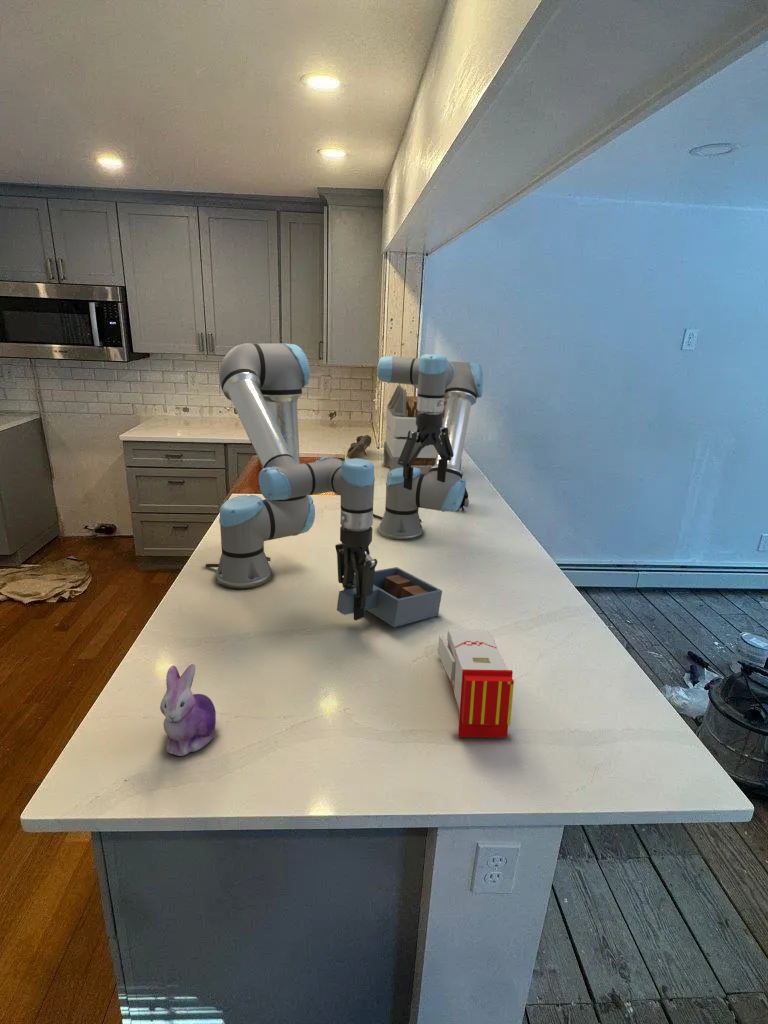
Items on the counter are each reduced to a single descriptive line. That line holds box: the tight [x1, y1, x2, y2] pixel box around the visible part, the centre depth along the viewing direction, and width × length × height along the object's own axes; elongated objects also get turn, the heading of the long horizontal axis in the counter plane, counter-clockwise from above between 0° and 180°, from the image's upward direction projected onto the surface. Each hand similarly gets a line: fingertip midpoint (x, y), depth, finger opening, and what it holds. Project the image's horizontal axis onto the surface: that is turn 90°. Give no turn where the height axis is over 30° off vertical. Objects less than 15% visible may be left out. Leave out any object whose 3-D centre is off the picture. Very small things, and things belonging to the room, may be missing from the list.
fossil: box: [347, 434, 372, 459], centre depth 303 cm, size 22×10×15 cm
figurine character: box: [455, 487, 470, 512], centre depth 229 cm, size 7×8×15 cm
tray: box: [336, 566, 443, 628], centre depth 144 cm, size 18×26×7 cm
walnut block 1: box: [383, 575, 411, 599], centre depth 153 cm, size 5×5×5 cm
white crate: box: [383, 384, 463, 472], centre depth 268 cm, size 34×33×41 cm
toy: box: [437, 628, 515, 738], centre depth 117 cm, size 12×13×30 cm
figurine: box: [159, 663, 217, 757], centre depth 100 cm, size 9×10×15 cm
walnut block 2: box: [401, 585, 427, 598], centre depth 147 cm, size 5×5×5 cm
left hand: (354, 614), depth 139 cm, fingers closed on tray, 3 cm apart
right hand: (424, 484), depth 165 cm, fingers open, 13 cm apart
